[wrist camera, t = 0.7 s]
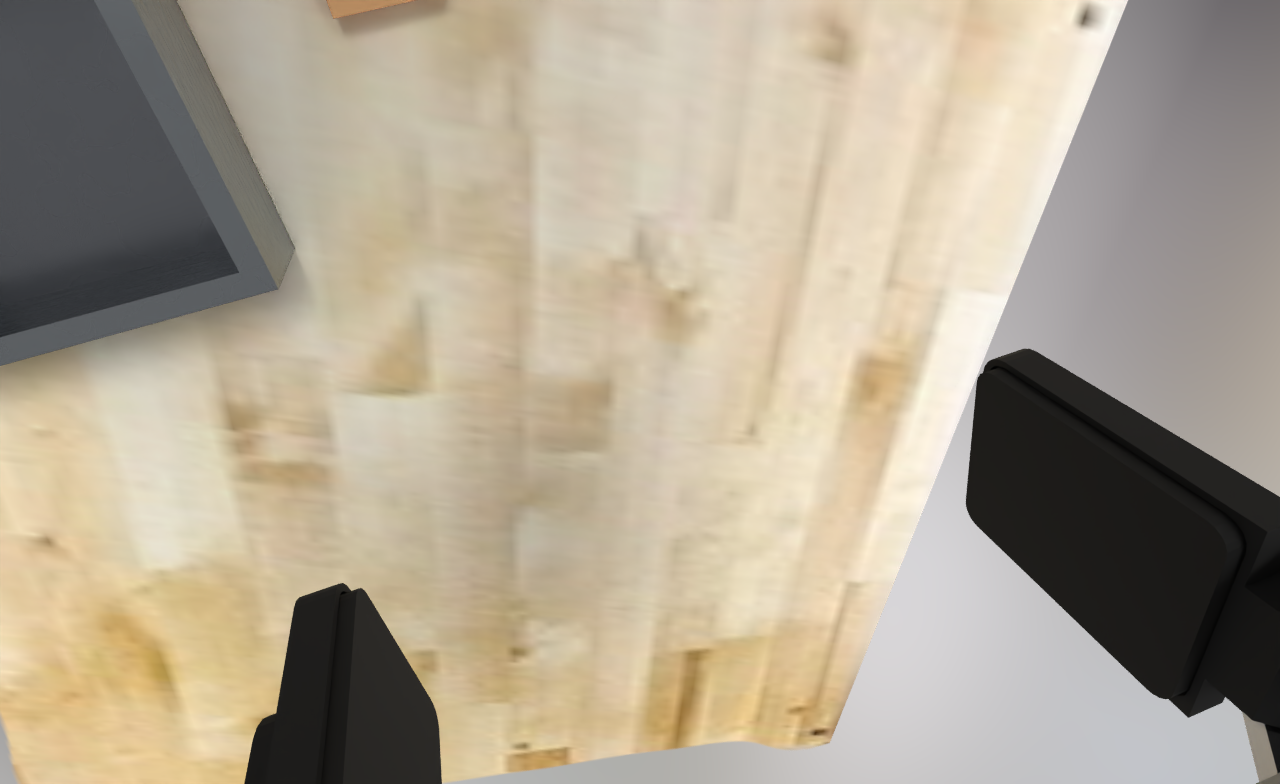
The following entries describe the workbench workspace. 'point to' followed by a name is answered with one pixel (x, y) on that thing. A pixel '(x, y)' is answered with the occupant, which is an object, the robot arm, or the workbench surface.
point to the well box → (119, 177)
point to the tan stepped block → (359, 6)
